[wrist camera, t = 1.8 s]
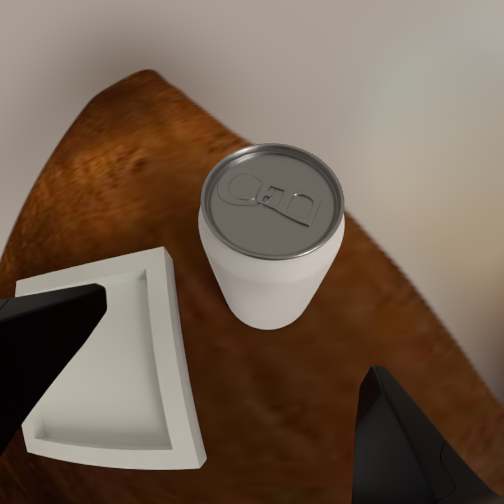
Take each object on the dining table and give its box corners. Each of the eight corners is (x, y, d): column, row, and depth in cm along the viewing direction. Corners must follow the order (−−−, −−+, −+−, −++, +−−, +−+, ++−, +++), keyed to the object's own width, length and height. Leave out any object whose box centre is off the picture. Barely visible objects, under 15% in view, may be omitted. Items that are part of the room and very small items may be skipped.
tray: (206, 458, 16) (200, 468, 14) (44, 449, 15) (27, 451, 13) (172, 259, 23) (163, 246, 21) (31, 289, 22) (16, 281, 20)
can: (246, 239, 24) (235, 123, 13) (321, 268, 22) (368, 165, 11) (210, 309, 21) (158, 231, 10) (290, 344, 20) (327, 300, 9)
